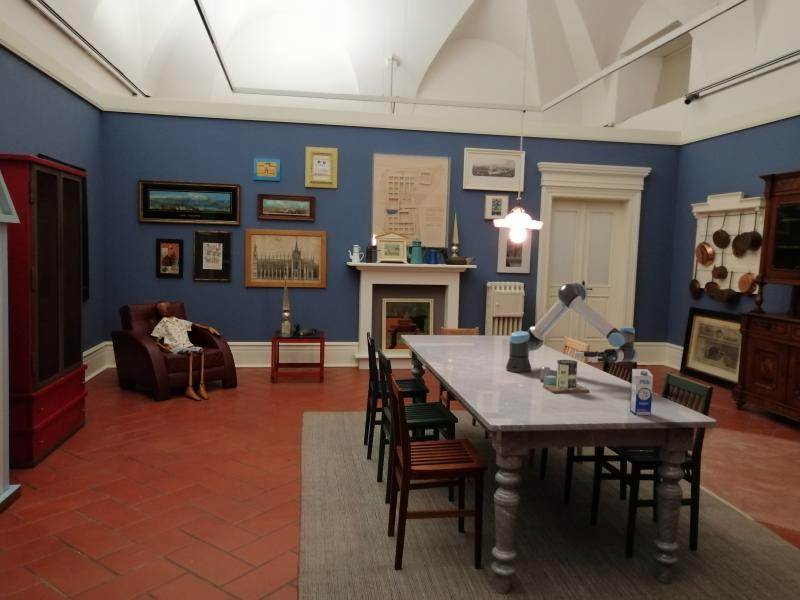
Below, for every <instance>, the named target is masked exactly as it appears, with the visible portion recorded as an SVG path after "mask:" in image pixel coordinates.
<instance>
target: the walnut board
mask: <svg viewBox="0 0 800 600" xmlns="http://www.w3.org/2000/svg"><path fill="white" fill-rule="evenodd" d="M556 386H557V385H542V388H543V389H545V390H546V391H549V392H551V393H552V394H573V393H572V392H584V393H590V389H588V388H586V387H584V386H582V385H580V384H578V383H576V389H574V390H565V389H559V388H557V387H556Z"/></svg>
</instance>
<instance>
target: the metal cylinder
mask: <svg viewBox="0 0 800 600" xmlns="http://www.w3.org/2000/svg"><path fill="white" fill-rule="evenodd" d="M539 373H540V377H539V378H540V379H539V380H540V383H543V384H544V376H549V375H550V374H551V369H550V367H549V366H541V367H540V372H539Z"/></svg>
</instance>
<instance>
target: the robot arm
mask: <svg viewBox="0 0 800 600" xmlns="http://www.w3.org/2000/svg"><path fill="white" fill-rule="evenodd" d="M587 296H588V290H587V288H586V286H585V285H583V284H582V283H579V282H571V283H565V284H562V285H561V286H560V287H559V288H558V290H557V297H558V300H557V301H556V302H555V303H554V304H553V305H552V307H550V309H549V310H548V311H547V312H546V313H545V314H544V315H543V317H541V318H540V320H539V321H538V322H537V323H536V324H535V325H534V326H530V327H529V328H528V330H527V331H523V330H520V331H513V332H512V333H510V335H509V351H508V352H509V356H508V359H507V362H506V366H505V370H506V369H507V370H509V371H508V372H511V371H513V372H512V373H518V372H526V373H530V372H532V365H531V362H530V359H529V358H530V353H529V352H531V351H537V350H539V349H540V348H542V346H543V344H544V341H545V340H546V336H547V334H548V333H549V332H550V331H551V330H553V328H554V327H555V326H556V325H557V324H558V322H559V321H561V319H562V318H563V317H564V316H566V314H567V313H568V312H569V310H572V311H574V312H575V313H576V314H578V316H580V317H581V318H582V319H583V320H585V321H586V322H587V323H588V324H589V325H590V326H591V327H592V328H594V329H595V330H596V331H597V332H598V333H600V334H601V335H602V336H603V337H605V338H606V340H607V341H608V344H609V345H610V346H612V347H615V348H606V349H604V350H603V351H600V352H599V351H598V350H597V351H587V350H585V351H584V350H581V351H578V352H576V351H575V352H573V358H575V359H577V358H578V359H579V358H584V357H587V358H591V363H593V364H594V363H606V364H607V363H608V364H609V363H615V364H617V363H618V362H619V363H620V362H631V361H636V359H637V358H638V351H637V349H636V348H635V347H634V346H635V335H636V334H635V333H636V332H635V331H636V330H635V327H633V326H620V329H618V328H617V327H615V326H614V325H613V324H612V323H611V322H609V320H607V319H606V318H605V317H604V316H602V315H601V314H600V313H599V312H598V311H597V310H595V309H594V308H593V307H591V305H590V304H588V303H587V302H585V301H586V299H587V298H588V297H587ZM507 370H506V371H507Z"/></svg>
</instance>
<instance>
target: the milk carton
mask: <svg viewBox="0 0 800 600" xmlns="http://www.w3.org/2000/svg"><path fill="white" fill-rule="evenodd" d="M653 381H654V376H653V374H652V373H651V372H650V370H648V369H647V368H644V369H641V368H632V369H631V390H630V410H629V412H630V413H631V412H632V413H631V414H633V415H634V416H635V415H638V417H639V416H641V417H643V416H644V417H646V416H645V415H648V416H647V417H651V416H652V400H653Z"/></svg>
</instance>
